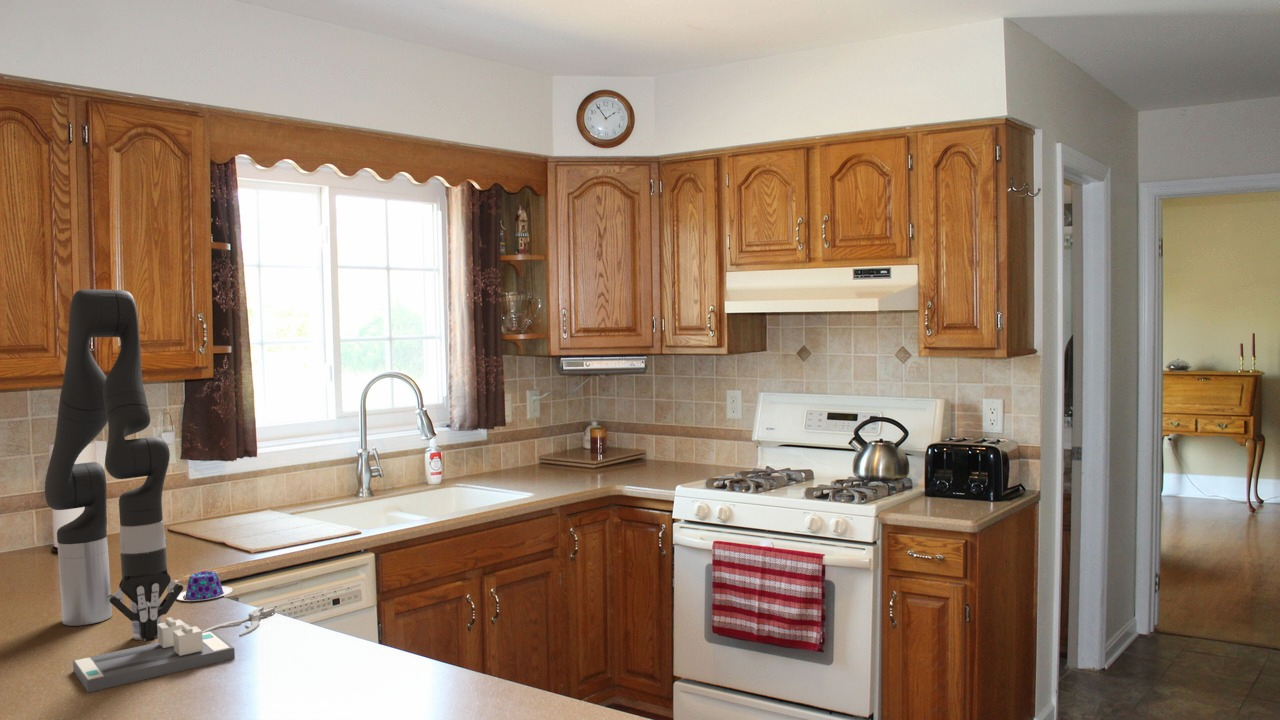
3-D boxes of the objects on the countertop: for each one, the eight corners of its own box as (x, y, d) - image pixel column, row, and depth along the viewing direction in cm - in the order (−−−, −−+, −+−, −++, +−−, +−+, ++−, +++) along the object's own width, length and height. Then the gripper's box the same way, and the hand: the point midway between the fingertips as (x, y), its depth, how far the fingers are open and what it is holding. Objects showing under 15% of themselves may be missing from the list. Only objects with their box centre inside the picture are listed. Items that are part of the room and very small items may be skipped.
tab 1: (158, 642, 188) (156, 619, 188) (180, 638, 191) (179, 615, 191) (163, 648, 185) (161, 624, 185) (186, 643, 188) (185, 619, 188)
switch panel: (73, 671, 181) (72, 659, 181) (213, 640, 196) (212, 629, 196) (88, 692, 170) (87, 680, 170) (234, 658, 185) (234, 646, 185)
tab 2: (174, 650, 184) (172, 626, 183) (197, 645, 186) (195, 621, 186) (179, 655, 180) (178, 631, 180) (203, 650, 183) (201, 626, 183)
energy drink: (156, 630, 204) (153, 571, 204) (166, 635, 201) (162, 575, 200) (128, 636, 201) (124, 577, 200) (137, 642, 197) (134, 581, 196)
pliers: (199, 627, 201) (248, 606, 215) (200, 635, 201) (248, 613, 215) (241, 630, 198) (288, 607, 212) (242, 638, 198) (288, 615, 213)
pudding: (174, 607, 222) (173, 583, 222) (176, 594, 233) (175, 571, 233) (233, 599, 227) (232, 576, 227) (232, 586, 238) (231, 564, 238)
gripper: (176, 537, 192) (181, 627, 193) (98, 549, 184) (104, 643, 185) (186, 544, 186) (192, 636, 187) (107, 556, 178) (113, 653, 179)
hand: (148, 639), depth 186 cm, fingers closed
